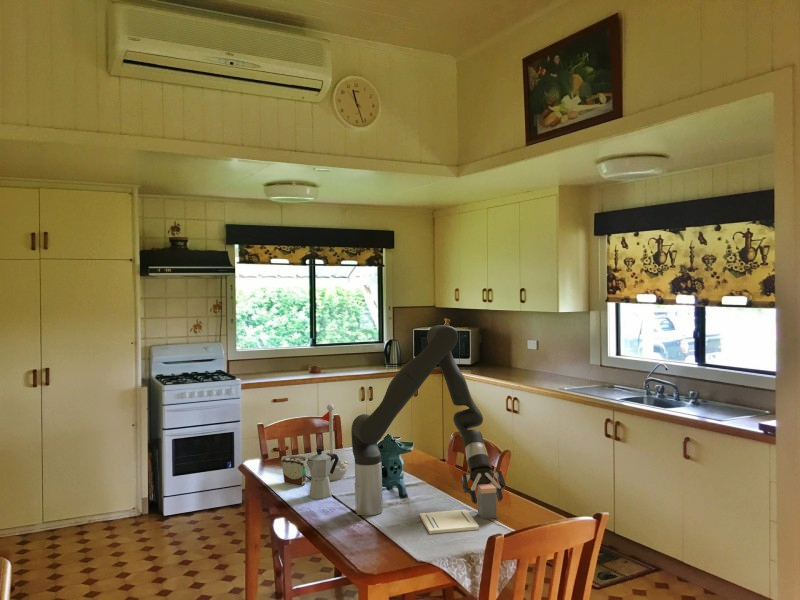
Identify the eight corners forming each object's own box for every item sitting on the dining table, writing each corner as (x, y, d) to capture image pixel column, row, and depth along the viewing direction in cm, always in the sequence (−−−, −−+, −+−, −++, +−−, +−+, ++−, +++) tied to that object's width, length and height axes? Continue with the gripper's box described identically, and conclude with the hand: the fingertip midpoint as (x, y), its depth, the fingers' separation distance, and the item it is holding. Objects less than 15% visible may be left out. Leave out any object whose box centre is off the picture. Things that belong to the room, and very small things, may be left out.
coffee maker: (313, 502, 242) (311, 453, 242) (299, 496, 249) (298, 449, 248) (346, 492, 252) (344, 445, 252) (332, 487, 259) (331, 441, 258)
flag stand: (334, 470, 283) (332, 399, 282) (355, 475, 274) (352, 403, 273) (310, 477, 274) (307, 404, 273) (330, 483, 265) (327, 408, 264)
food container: (315, 482, 266) (314, 457, 266) (305, 487, 261) (304, 461, 261) (291, 478, 273) (290, 454, 273) (281, 482, 268) (280, 457, 267)
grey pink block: (482, 519, 221) (481, 489, 220) (477, 513, 226) (477, 484, 225) (496, 517, 222) (495, 487, 221) (492, 512, 226) (491, 483, 226)
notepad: (429, 533, 209) (429, 530, 209) (419, 516, 225) (419, 513, 225) (479, 529, 212) (478, 526, 212) (465, 512, 228) (465, 509, 228)
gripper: (459, 454, 229) (469, 498, 218) (499, 451, 232) (511, 494, 221) (456, 465, 235) (465, 508, 224) (495, 462, 237) (506, 505, 226)
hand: (488, 501), depth 222 cm, fingers open, 8 cm apart
